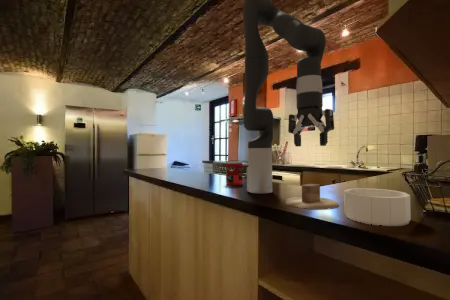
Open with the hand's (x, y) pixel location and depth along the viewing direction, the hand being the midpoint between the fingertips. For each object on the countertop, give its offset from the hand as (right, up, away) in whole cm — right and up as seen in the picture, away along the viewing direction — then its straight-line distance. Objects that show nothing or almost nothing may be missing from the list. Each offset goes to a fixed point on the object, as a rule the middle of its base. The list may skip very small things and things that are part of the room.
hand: (310, 146), depth 76 cm
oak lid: (0, -18, 0) cm, 18 cm away
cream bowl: (+10, -17, -17) cm, 26 cm away
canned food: (-21, -18, +45) cm, 53 cm away
